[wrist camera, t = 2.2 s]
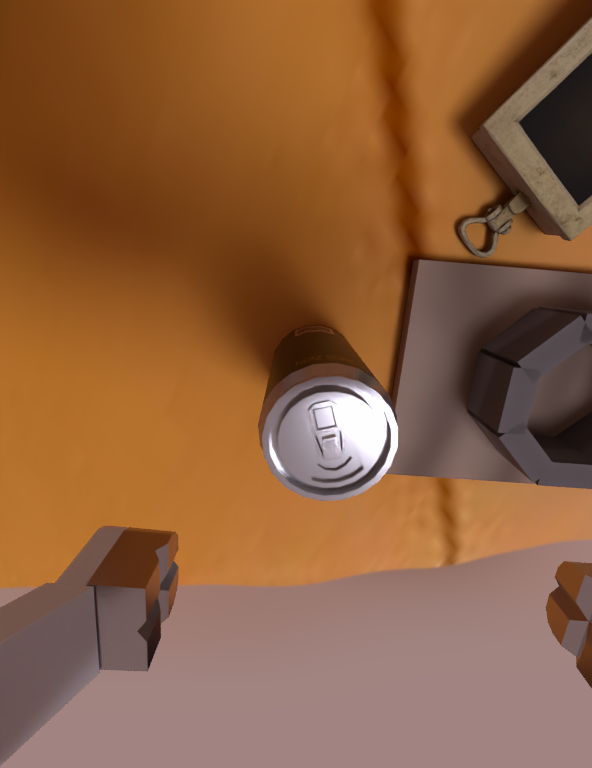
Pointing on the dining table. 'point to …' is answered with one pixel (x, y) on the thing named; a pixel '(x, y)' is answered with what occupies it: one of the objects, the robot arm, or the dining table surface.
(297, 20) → the dining table surface
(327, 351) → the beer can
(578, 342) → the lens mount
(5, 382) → the dining table surface
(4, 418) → the dining table surface
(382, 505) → the dining table surface
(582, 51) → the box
